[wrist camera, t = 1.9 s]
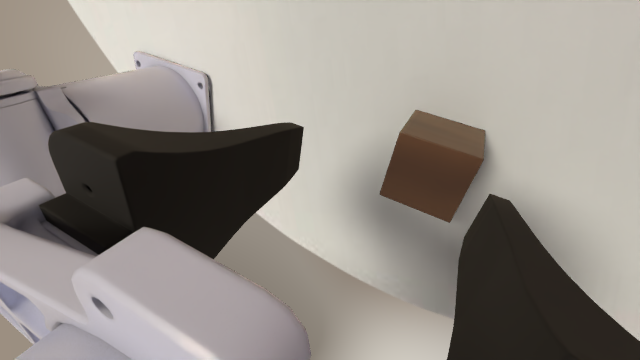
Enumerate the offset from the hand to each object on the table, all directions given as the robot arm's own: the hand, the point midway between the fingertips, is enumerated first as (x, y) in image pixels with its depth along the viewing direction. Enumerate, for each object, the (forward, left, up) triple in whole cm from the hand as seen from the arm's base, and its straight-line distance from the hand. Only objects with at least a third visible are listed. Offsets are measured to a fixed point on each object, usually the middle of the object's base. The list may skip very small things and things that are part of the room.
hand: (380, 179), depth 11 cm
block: (-2, -2, -8) cm, 9 cm away
